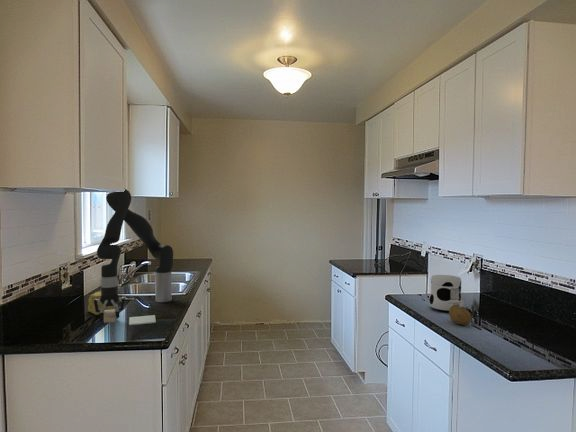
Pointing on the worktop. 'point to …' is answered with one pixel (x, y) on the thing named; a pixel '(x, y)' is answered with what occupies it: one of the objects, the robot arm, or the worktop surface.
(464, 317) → the potato
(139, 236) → the robot arm
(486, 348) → the worktop surface
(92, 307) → the cheese
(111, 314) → the oak block
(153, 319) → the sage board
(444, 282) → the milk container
